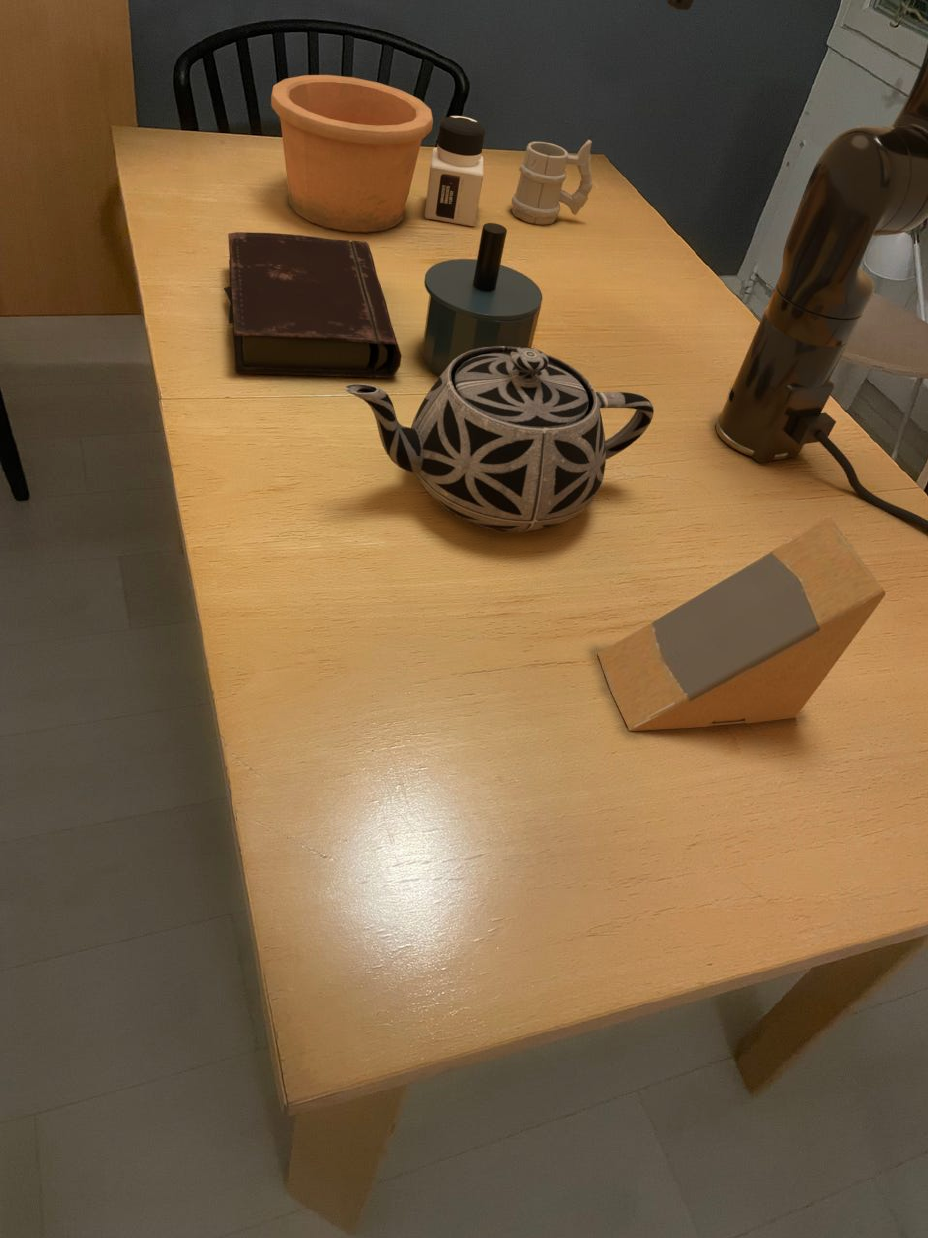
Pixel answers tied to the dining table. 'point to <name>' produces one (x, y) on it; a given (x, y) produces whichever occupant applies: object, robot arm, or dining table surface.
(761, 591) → the sandwich container
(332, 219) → the pottery
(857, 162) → the robot arm
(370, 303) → the diary
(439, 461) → the teapot
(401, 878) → the dining table surface
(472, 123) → the container
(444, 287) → the lid
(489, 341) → the pot
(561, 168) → the mug
